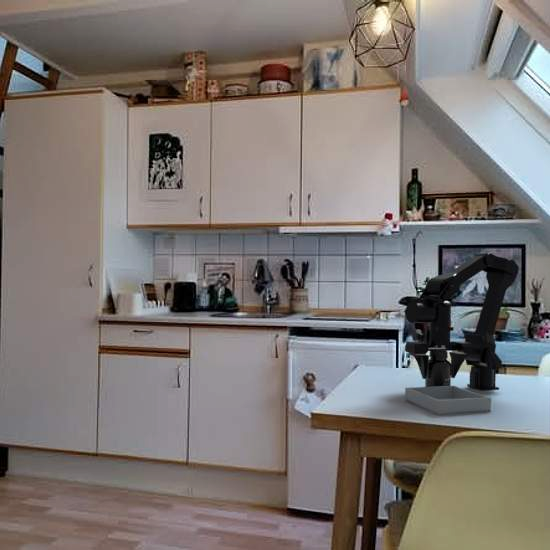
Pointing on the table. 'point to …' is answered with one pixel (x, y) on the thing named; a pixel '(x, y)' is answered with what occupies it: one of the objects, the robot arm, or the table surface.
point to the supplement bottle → (438, 369)
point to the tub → (447, 400)
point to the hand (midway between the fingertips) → (438, 378)
